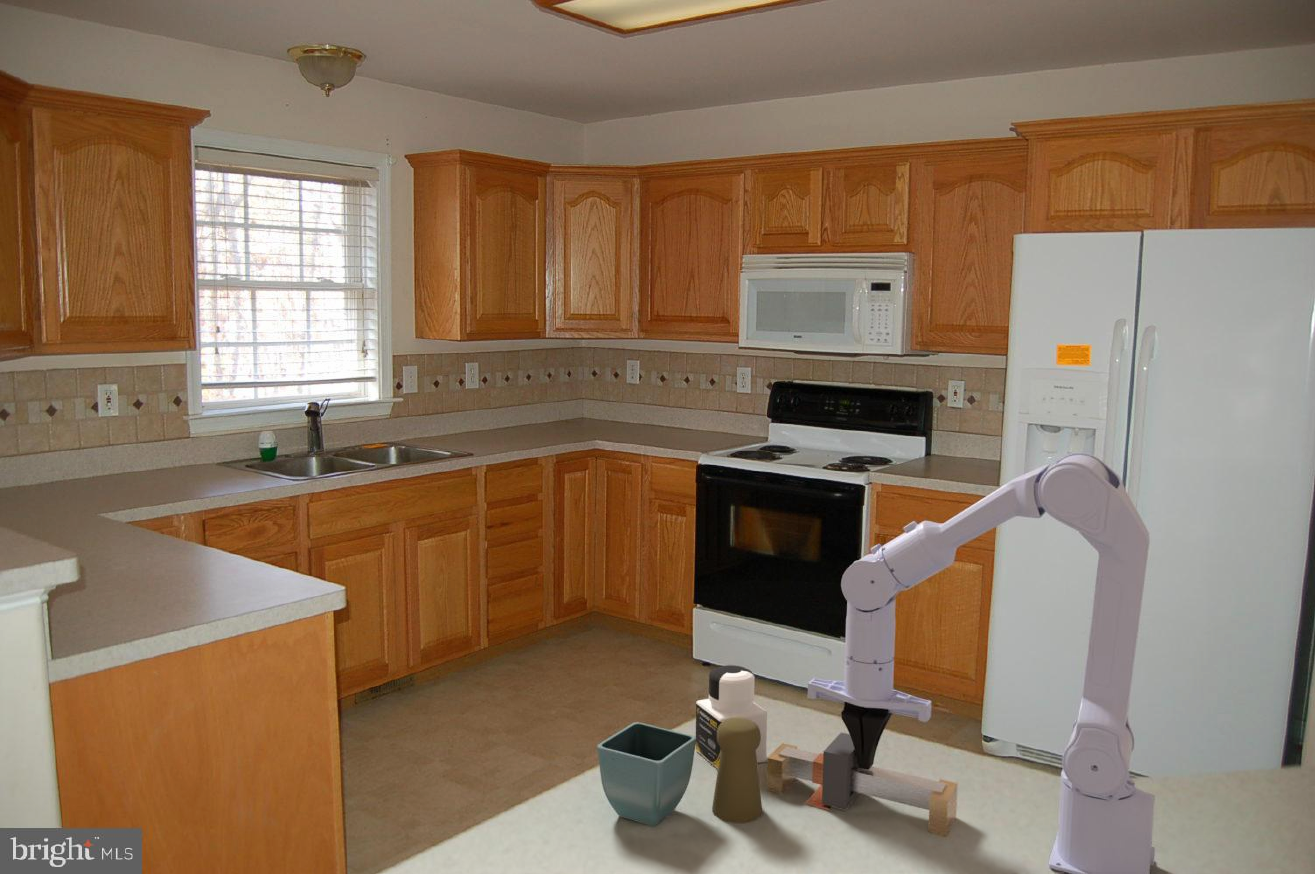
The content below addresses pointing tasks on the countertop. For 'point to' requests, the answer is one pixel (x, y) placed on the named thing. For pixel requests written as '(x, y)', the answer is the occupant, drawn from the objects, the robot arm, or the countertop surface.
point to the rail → (866, 785)
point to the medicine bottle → (728, 710)
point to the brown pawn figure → (738, 772)
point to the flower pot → (646, 771)
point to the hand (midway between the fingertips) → (865, 765)
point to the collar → (838, 772)
